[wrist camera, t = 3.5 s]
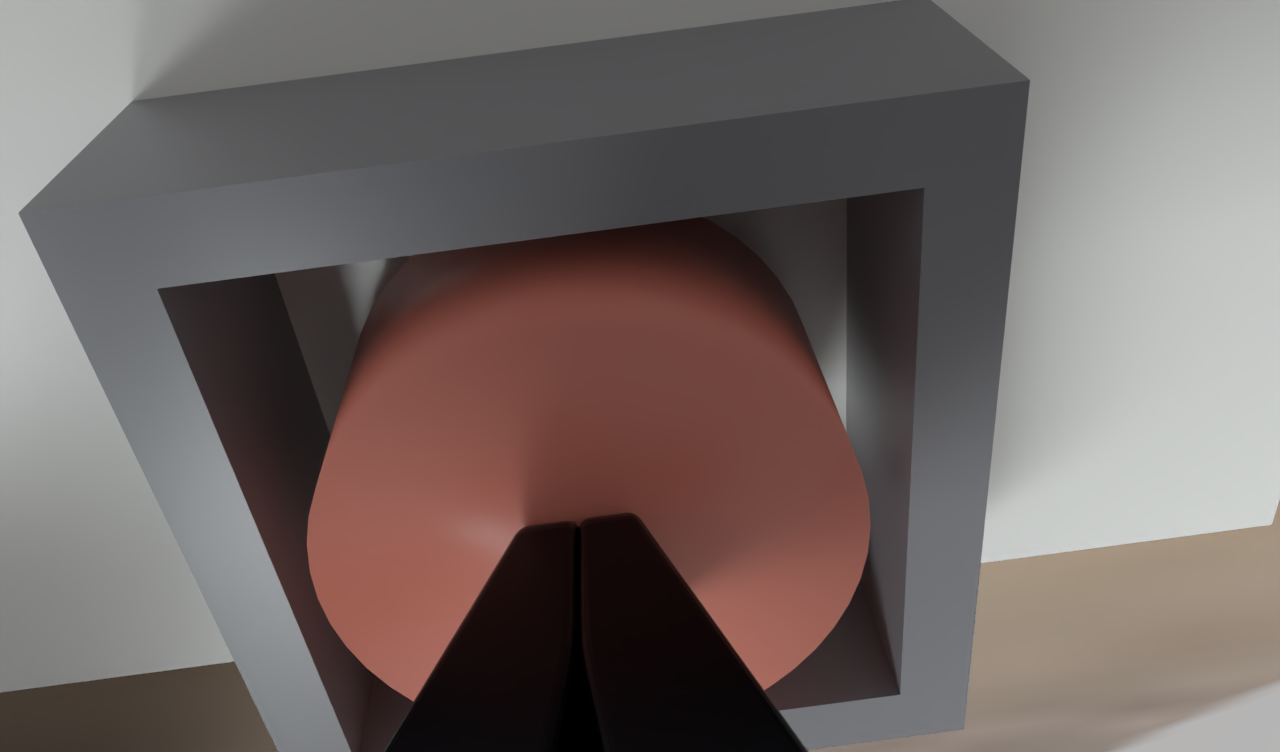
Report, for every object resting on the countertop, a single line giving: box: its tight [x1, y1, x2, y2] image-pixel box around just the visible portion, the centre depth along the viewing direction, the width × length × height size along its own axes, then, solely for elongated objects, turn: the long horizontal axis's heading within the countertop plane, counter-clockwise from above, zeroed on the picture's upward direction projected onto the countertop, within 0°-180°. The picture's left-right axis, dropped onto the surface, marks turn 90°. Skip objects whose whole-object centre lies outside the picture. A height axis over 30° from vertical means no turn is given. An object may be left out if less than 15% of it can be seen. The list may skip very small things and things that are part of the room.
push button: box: [307, 217, 871, 702], centre depth 8 cm, size 4×4×2 cm
